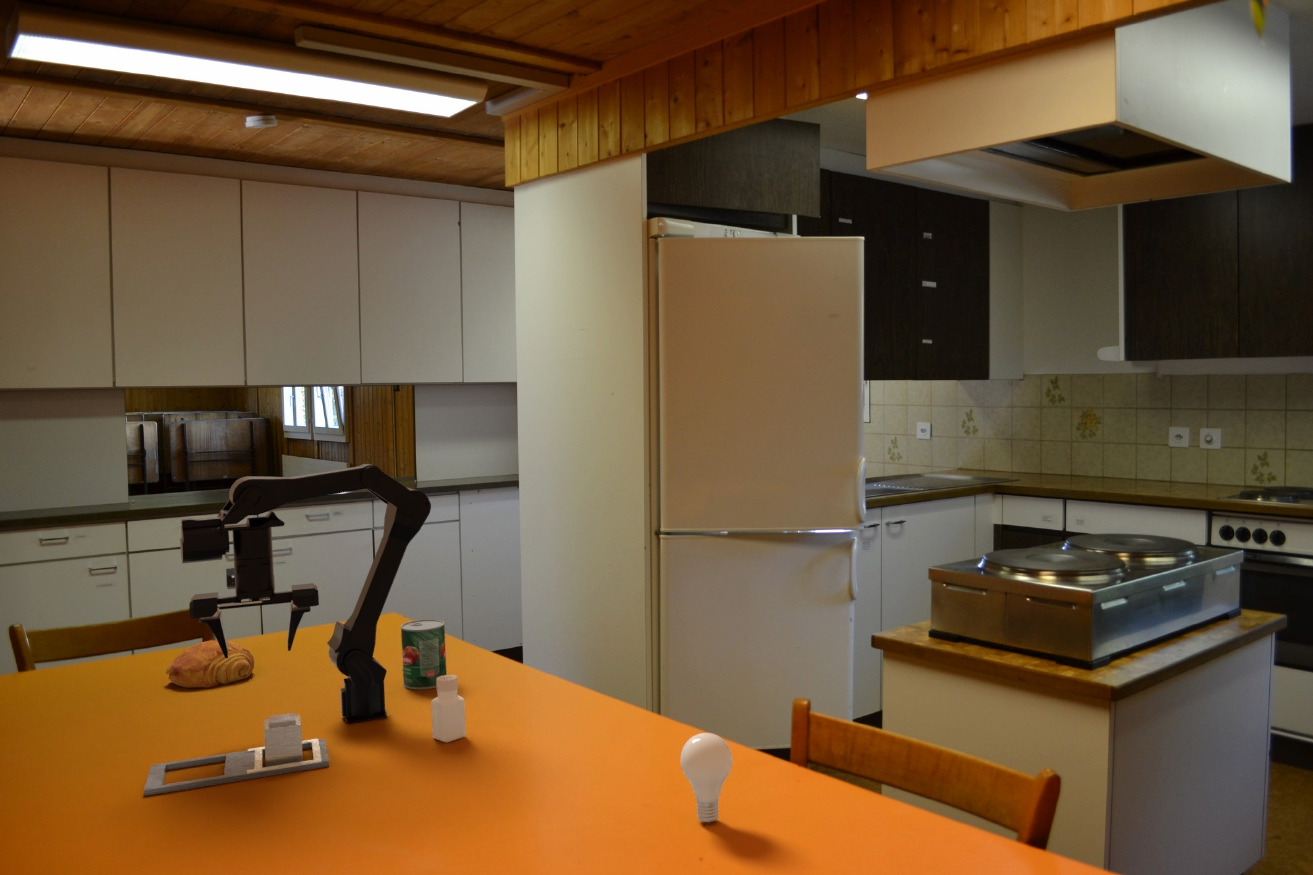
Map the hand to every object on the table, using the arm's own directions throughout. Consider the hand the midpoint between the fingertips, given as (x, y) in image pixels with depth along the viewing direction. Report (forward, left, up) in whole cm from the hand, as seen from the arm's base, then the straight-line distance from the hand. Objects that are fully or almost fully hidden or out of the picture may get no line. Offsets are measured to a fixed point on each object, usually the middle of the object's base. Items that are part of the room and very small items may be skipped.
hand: (258, 653), depth 157 cm
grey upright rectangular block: (-3, +14, -13) cm, 19 cm away
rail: (+3, +14, -13) cm, 19 cm away
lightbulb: (-51, +59, -13) cm, 79 cm away
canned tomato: (-28, -16, -13) cm, 35 cm away
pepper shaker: (-27, +15, -13) cm, 34 cm away
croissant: (+9, -39, -13) cm, 42 cm away
